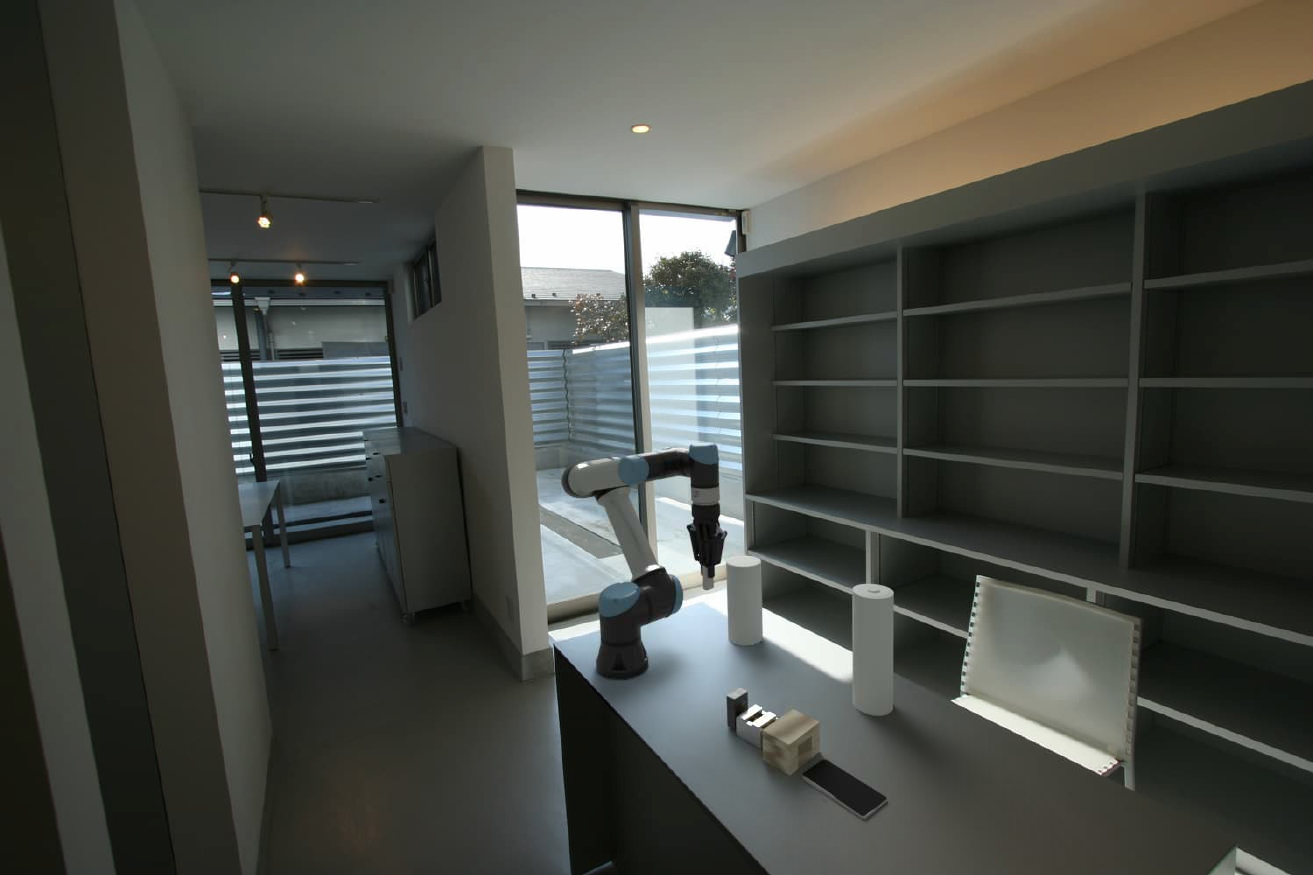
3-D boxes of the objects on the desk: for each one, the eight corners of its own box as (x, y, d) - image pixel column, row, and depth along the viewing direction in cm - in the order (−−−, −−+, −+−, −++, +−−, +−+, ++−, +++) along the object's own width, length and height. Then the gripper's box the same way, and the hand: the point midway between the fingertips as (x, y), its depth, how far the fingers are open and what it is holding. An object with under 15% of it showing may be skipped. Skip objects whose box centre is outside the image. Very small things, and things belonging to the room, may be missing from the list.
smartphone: (863, 817, 111) (800, 774, 123) (863, 823, 111) (800, 779, 123) (888, 797, 116) (824, 757, 128) (888, 802, 116) (824, 762, 128)
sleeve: (736, 735, 138) (736, 715, 137) (754, 724, 142) (754, 703, 141) (760, 749, 132) (760, 728, 132) (778, 737, 137) (777, 715, 136)
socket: (763, 759, 129) (762, 729, 128) (793, 737, 136) (793, 708, 135) (789, 775, 124) (789, 744, 123) (819, 751, 131) (819, 721, 130)
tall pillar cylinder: (754, 648, 179) (752, 568, 176) (722, 641, 185) (720, 563, 181) (768, 634, 188) (766, 558, 184) (737, 627, 193) (735, 553, 190)
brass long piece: (727, 726, 141) (726, 695, 140) (740, 717, 144) (739, 687, 143) (790, 762, 127) (789, 728, 126) (803, 751, 131) (802, 718, 130)
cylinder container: (896, 717, 142) (897, 597, 138) (855, 714, 144) (854, 595, 140) (889, 695, 151) (889, 582, 148) (850, 692, 153) (850, 581, 150)
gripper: (677, 501, 158) (681, 586, 161) (713, 508, 148) (716, 599, 151) (697, 495, 163) (700, 578, 166) (733, 502, 153) (736, 590, 156)
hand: (708, 588), depth 158 cm, fingers closed
